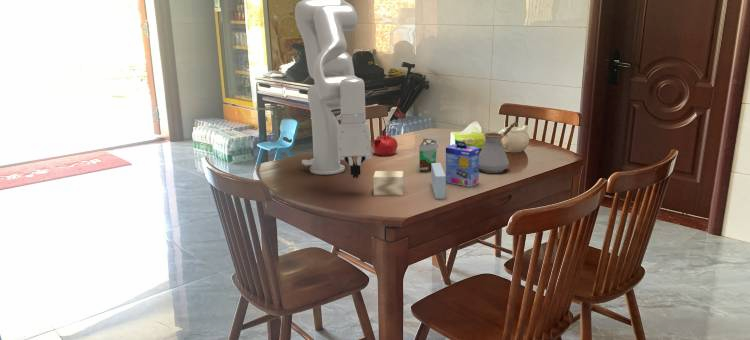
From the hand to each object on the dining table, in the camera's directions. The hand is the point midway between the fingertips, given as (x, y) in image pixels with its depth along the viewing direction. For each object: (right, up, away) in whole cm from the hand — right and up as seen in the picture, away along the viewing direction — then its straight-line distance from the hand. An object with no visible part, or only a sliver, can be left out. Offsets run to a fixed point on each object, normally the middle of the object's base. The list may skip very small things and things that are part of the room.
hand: (355, 176), depth 181 cm
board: (+26, -4, +1) cm, 26 cm away
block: (+10, -5, +2) cm, 12 cm away
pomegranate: (+10, +8, +51) cm, 53 cm away
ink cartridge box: (+35, -2, +9) cm, 36 cm away
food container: (+26, +2, +27) cm, 38 cm away
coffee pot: (+51, +3, +27) cm, 58 cm away
